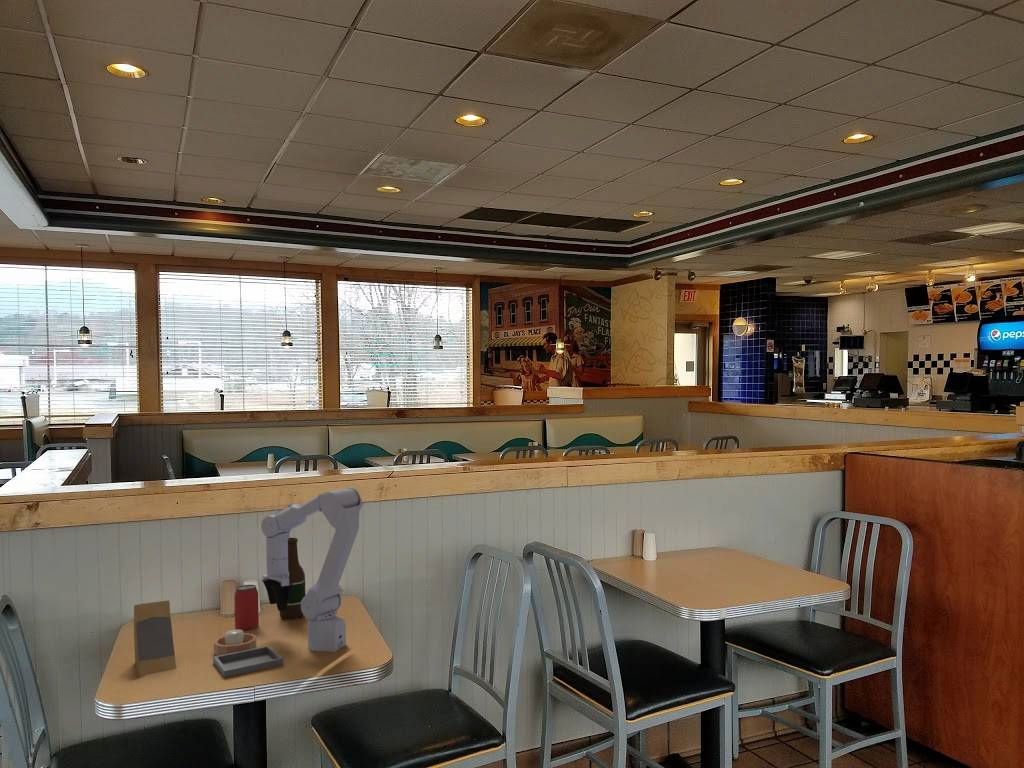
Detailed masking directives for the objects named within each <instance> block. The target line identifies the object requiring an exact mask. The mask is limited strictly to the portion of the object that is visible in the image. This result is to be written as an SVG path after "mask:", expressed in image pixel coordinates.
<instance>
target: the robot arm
mask: <svg viewBox="0 0 1024 768" xmlns="http://www.w3.org/2000/svg"><path fill="white" fill-rule="evenodd" d="M363 504H364V501H363V500H362V497H361V495H360V492H359V491H358V489H356V488H355V487H346V488H344V489H338V490H332V491H325V492H323V493H319V494H318V495H317V496H315V497H313V498H312V499H309V500H308V501H307V502H305V503H303V504H300V503H299V504H298V503H289V504H287V508H285V509H280V510H277V511H276V513H275V514H273V515H266V516H265V517H264V518H263V519H262V521H261V525H260V526H261V527H260V529H261V532H262V533H263V535H264V536H265V538H266V539H265V542H266V543H265V544H266V548H265V549H266V550H265V551H266V554H265V555H266V574H262V580H261V581H262V583H263V584H264V587H265V590H266V593H267V598H268V601H269V604H270V605H275V604H276V608H277V611H281V610H286V608H287V604H288V599H289V596H290V593H291V591H292V589H293V586H294V584H292V583H291V584H289V578H288V577H289V572H288V539H289V538H290V534H291V532H292V530H293V529H295V528H297V527H298V526H301V525H303V524H304V523H305V522H306V521H307V519H308V516H311V515H313V514H316V513H318V512H321V513H322V514H323V516H324V517H325V518H326V520H327V521H328V522H329V524H330V526H331V527H332V528H334V530H335V531H334V533H333V536H332V539H331V543H330V546H329V548H328V551H327V554H326V557H325V559H324V562H323V564H322V567H321V571H320V573H319V575H318V580H317V581H316V582H315V583H314V584H312V585H311V586H310V587H309V589H308V590H307V593H306V594H305V597H303V599H302V601H301V610H302V613H303V615H304V616H303V617H305V620H307V649H308V650H310V651H312V652H332V653H335V652H337V651H339V650H340V649H341V648H343V647H344V646H346V645H347V635H346V633H347V630H346V629H347V627H346V625H347V624H346V620H345V619H344V618H343V617H339V616H337V614H338V610H339V609H340V607H341V606H342V596H343V592H344V590H343V588H342V586H341V585H340V581H341V579H342V576H343V573H344V570H345V568H346V565H347V564H348V563H347V562H348V559H349V557H350V554H351V551H352V549H353V546H354V543H355V541H356V538H357V535H358V532H359V528H360V512H361V509H362V507H363Z"/></svg>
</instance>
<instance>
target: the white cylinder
mask: <svg viewBox="0 0 1024 768" xmlns="http://www.w3.org/2000/svg"><path fill="white" fill-rule="evenodd" d="M243 633H244V631H243V630H237V629H231V630H227V631H225V633H224V636H225V645H238V644H242V643H243Z"/></svg>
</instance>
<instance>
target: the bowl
mask: <svg viewBox="0 0 1024 768" xmlns="http://www.w3.org/2000/svg"><path fill="white" fill-rule="evenodd" d="M257 638H258V637H257V635H256V634H253V633H247V632H243V643H242V644H238V645H225V635H223V636H220V637H218V638H216V639H214V641H213V655H215V656H219V655H224V654H229V653H234V652H239V651H244V650H249V649H254V648H258V639H257Z"/></svg>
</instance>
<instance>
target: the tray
mask: <svg viewBox="0 0 1024 768" xmlns="http://www.w3.org/2000/svg"><path fill="white" fill-rule="evenodd" d="M212 663H213V666H215V668H216V669H217V671H218V672H219V673H220V675H221V676H222V677H223V678H224V679H227V678H231V677H236V676H239V675H245V674H250V673H253V672H258V671H262V670H267V669H273V668H276V667H280V666H284V658H283V657H282V656H281V655H280V654H279V653H278V652H277V651H276V650H275V649H274V648H273V647H272V646H271V645H266V646H265V645H264V646H260V647H257V648H254V649H249V650H244V651H239V652H234V653H229V654H224V655H219V656H216V655H215V656H212Z"/></svg>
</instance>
